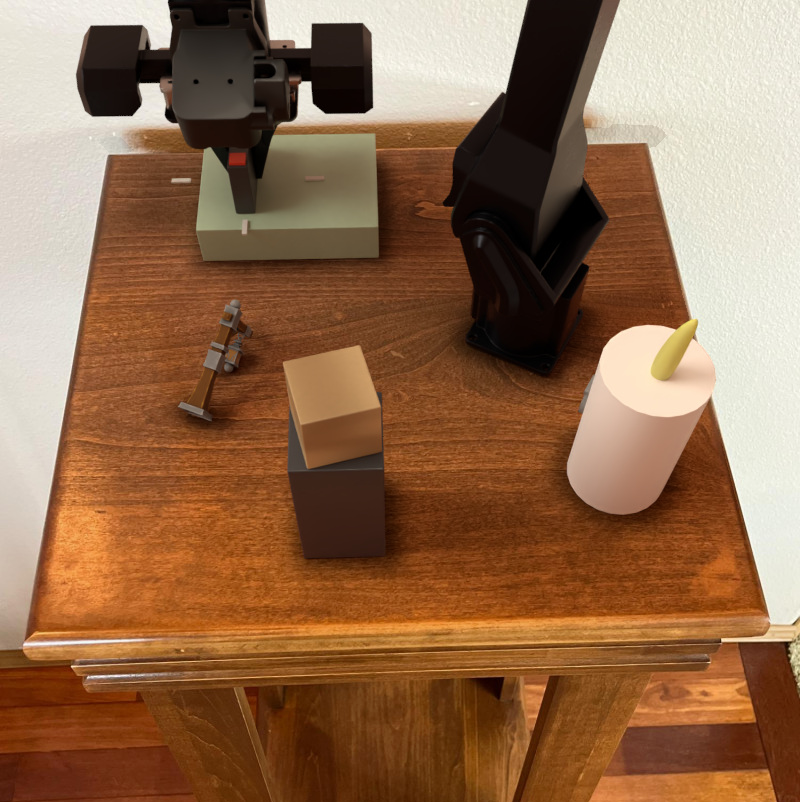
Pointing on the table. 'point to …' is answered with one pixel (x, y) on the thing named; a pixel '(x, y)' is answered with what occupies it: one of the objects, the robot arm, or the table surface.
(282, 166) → the base
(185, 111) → the robot arm
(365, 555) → the stand
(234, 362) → the wooden lantern post
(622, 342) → the candle
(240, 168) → the dark grey panel
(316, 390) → the block
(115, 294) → the table surface
